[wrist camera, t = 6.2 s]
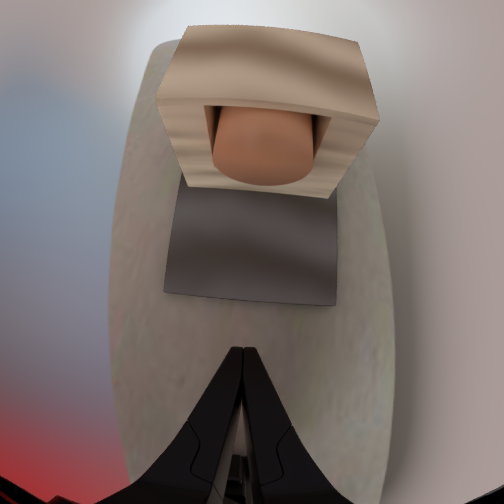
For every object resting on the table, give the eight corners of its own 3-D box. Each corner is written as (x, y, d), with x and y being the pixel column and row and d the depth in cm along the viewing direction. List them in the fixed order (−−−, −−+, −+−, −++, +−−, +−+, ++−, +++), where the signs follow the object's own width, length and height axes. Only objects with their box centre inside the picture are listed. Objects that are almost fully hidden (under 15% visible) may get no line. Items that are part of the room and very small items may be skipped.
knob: (302, 189, 19) (324, 141, 13) (216, 182, 19) (207, 130, 13) (302, 115, 21) (317, 61, 15) (228, 108, 21) (225, 52, 15)
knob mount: (332, 306, 22) (412, 292, 11) (166, 292, 22) (95, 266, 11) (329, 126, 26) (365, 38, 15) (198, 114, 26) (180, 20, 15)
